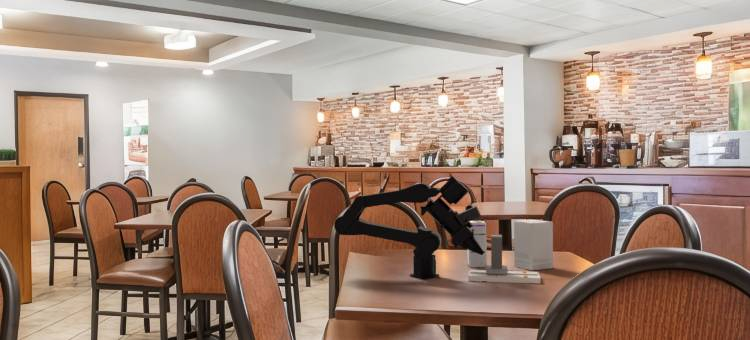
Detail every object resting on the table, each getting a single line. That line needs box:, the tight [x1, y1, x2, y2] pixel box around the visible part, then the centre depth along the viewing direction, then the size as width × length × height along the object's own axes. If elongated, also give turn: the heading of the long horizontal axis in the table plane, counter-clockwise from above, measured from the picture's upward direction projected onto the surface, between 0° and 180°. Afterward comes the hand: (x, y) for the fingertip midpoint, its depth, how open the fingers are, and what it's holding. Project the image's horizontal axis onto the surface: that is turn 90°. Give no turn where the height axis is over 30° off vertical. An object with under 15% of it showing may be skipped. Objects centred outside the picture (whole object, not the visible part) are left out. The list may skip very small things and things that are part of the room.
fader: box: [485, 234, 508, 274], centre depth 172 cm, size 6×6×11 cm
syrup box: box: [466, 220, 488, 268], centre depth 193 cm, size 6×6×14 cm
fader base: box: [467, 269, 542, 284], centre depth 172 cm, size 20×9×2 cm, turn 79°
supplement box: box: [513, 219, 554, 271], centre depth 190 cm, size 9×9×15 cm
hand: (483, 253), depth 173 cm, fingers closed
